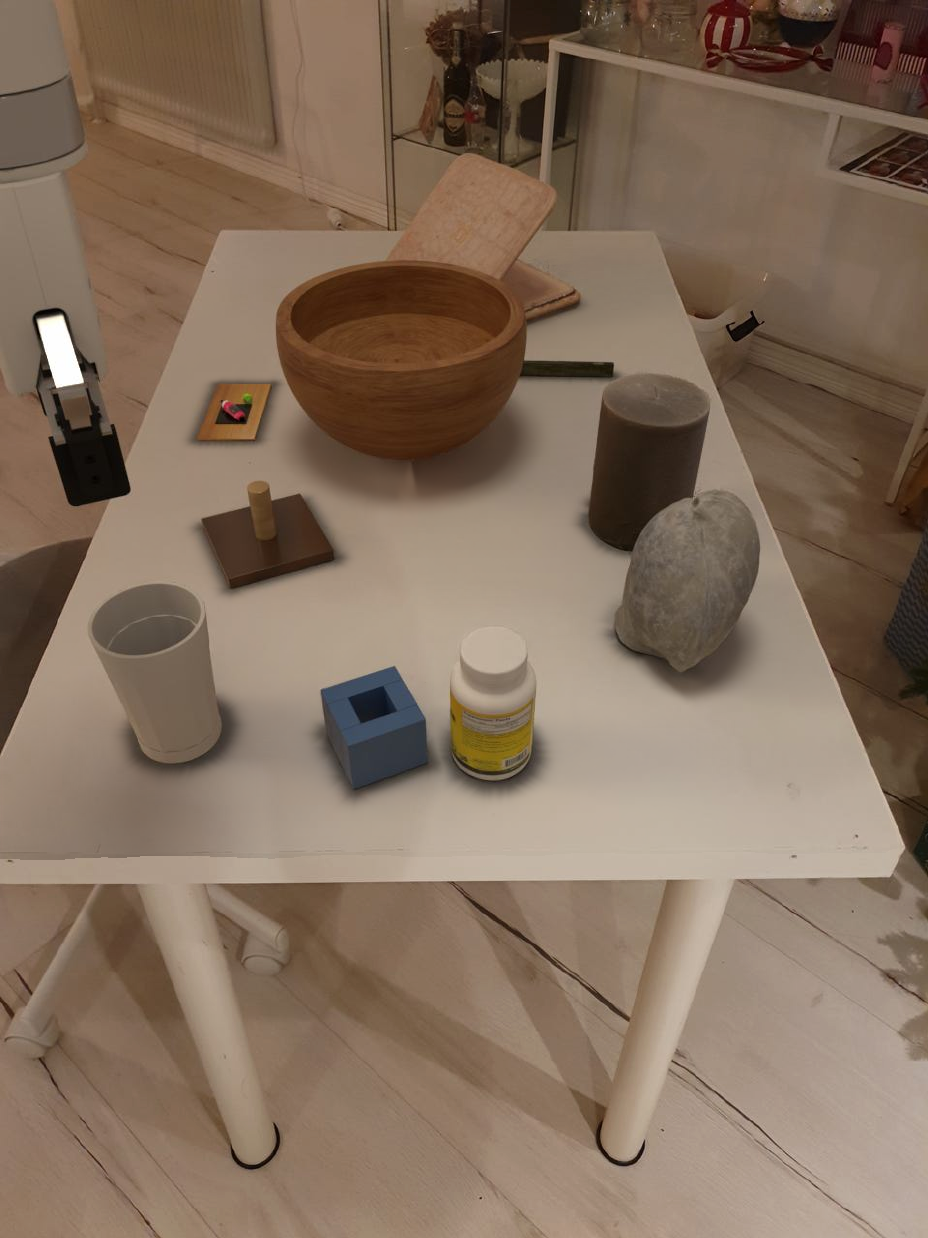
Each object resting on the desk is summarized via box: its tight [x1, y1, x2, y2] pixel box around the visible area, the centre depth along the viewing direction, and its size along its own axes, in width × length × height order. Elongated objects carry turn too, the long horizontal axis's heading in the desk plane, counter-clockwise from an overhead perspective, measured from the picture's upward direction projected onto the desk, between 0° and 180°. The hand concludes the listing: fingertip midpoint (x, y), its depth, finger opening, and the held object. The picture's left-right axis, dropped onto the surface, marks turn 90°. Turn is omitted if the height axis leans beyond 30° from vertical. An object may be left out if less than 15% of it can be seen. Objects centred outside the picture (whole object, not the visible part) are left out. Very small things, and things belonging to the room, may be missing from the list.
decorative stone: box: [614, 489, 761, 673], centre depth 79 cm, size 15×10×15 cm
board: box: [196, 383, 272, 442], centre depth 111 cm, size 6×12×2 cm, turn 179°
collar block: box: [319, 665, 428, 790], centre depth 73 cm, size 6×6×5 cm
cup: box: [87, 580, 223, 764], centre depth 72 cm, size 8×8×12 cm
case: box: [384, 152, 581, 321], centre depth 128 cm, size 20×21×16 cm
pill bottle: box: [449, 625, 537, 781], centre depth 71 cm, size 6×6×11 cm
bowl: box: [275, 260, 528, 461], centre depth 102 cm, size 25×25×15 cm
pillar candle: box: [587, 371, 712, 552], centre depth 91 cm, size 10×10×15 cm
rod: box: [520, 359, 615, 378], centre depth 117 cm, size 31×1×2 cm, turn 89°
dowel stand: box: [200, 480, 335, 589], centre depth 91 cm, size 10×10×7 cm
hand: (85, 452), depth 55 cm, fingers open, 9 cm apart
